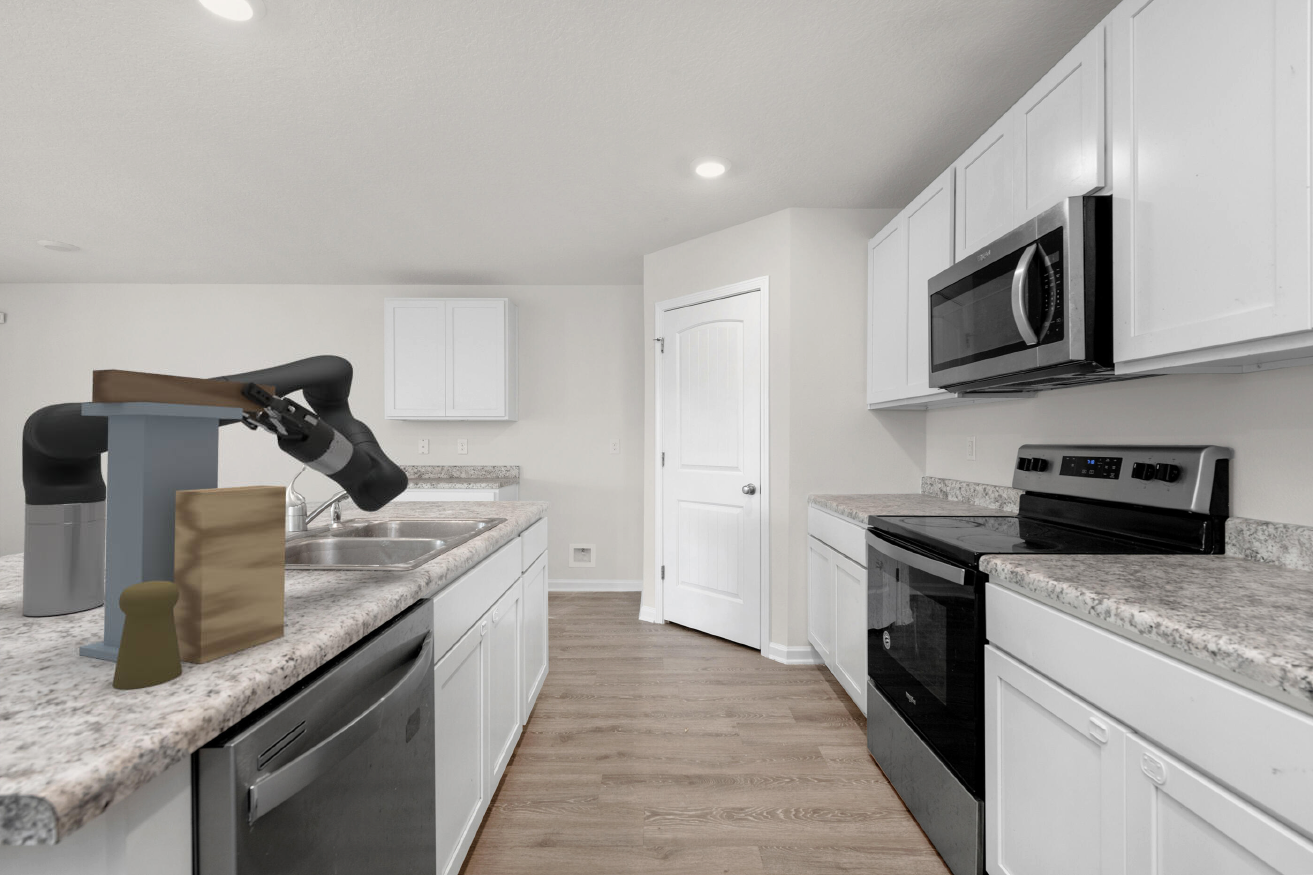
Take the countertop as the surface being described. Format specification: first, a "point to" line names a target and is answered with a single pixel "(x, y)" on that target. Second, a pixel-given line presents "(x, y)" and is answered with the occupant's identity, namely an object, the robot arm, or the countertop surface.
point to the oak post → (229, 569)
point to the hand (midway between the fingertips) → (232, 387)
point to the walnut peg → (170, 390)
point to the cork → (148, 636)
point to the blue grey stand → (149, 493)
